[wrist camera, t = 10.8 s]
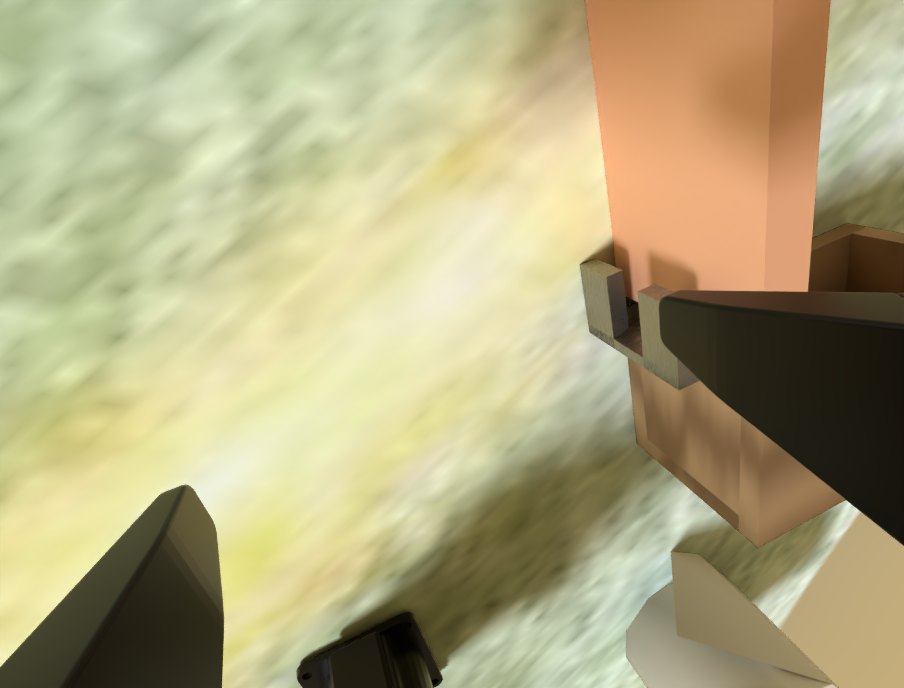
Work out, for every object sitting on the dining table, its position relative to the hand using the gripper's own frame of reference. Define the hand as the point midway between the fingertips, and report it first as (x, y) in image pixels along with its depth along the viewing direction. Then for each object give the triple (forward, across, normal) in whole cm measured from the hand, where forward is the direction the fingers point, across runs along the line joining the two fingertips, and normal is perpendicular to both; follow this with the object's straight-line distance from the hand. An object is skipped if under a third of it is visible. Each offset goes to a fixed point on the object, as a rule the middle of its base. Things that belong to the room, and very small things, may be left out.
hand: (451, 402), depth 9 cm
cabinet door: (+12, -12, 0) cm, 17 cm away
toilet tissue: (+12, -14, +32) cm, 37 cm away
